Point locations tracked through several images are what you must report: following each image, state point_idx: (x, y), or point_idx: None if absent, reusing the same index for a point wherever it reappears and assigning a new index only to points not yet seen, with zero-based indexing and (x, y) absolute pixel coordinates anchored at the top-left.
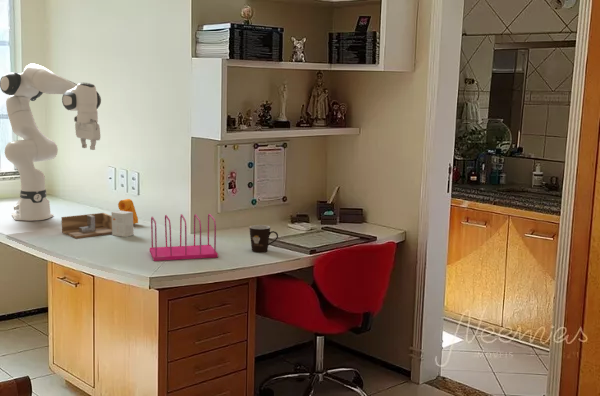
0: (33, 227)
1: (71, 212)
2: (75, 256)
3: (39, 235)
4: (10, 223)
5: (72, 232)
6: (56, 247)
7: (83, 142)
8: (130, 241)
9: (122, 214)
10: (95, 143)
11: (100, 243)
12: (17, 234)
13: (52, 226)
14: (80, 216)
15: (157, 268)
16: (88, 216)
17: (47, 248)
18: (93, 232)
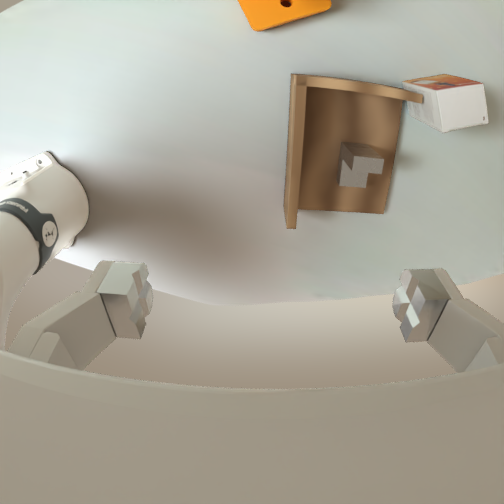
0: (173, 240)
1: (12, 93)
2: (489, 272)
3: (285, 262)
4: None
5: (334, 199)
6: None
7: (89, 338)
8: (489, 129)
9: (481, 124)
10: (499, 326)
11: (460, 191)
12: (241, 293)
13: (183, 196)
14: (300, 168)
15: None
16: (364, 172)
17: None
18: None
